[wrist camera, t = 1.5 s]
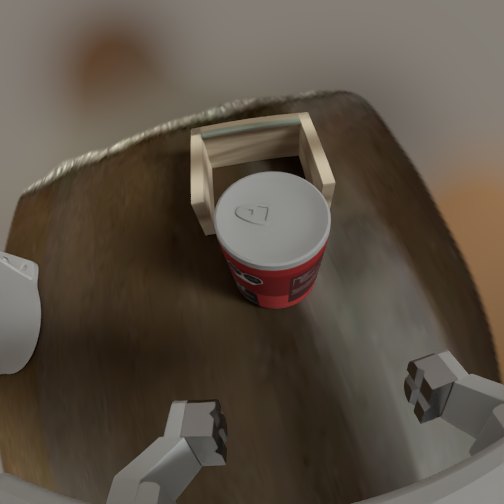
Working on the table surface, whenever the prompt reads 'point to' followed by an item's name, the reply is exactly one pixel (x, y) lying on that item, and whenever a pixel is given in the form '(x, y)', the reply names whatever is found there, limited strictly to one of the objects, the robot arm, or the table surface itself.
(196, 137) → the dock
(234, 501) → the table surface
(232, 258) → the canned food
